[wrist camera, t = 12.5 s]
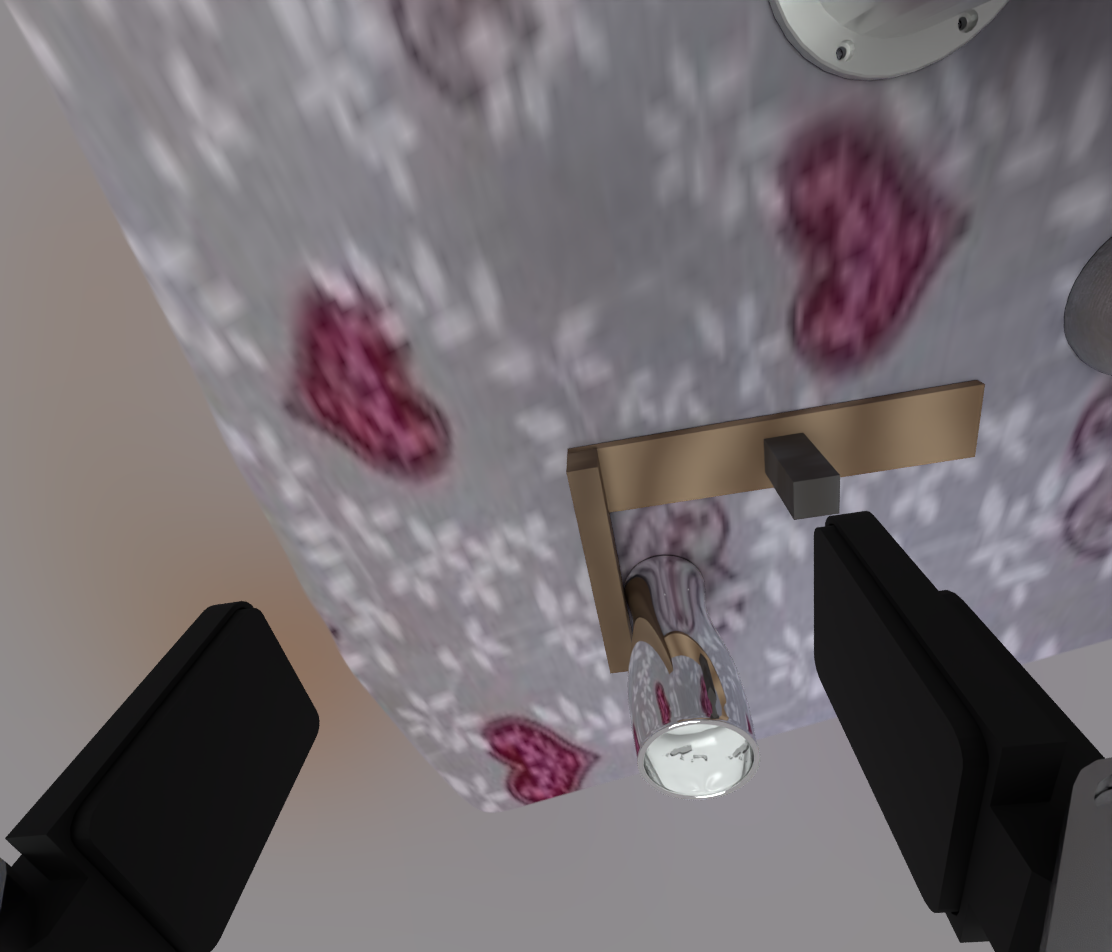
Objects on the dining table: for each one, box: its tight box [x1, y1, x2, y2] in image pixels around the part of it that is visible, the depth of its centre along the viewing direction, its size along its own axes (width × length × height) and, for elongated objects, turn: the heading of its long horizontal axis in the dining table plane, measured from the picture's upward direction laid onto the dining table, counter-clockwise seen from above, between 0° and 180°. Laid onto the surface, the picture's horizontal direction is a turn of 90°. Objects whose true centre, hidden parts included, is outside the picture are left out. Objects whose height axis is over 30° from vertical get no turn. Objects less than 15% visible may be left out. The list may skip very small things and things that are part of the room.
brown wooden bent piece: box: [566, 380, 985, 673], centre depth 38 cm, size 26×18×7 cm
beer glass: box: [624, 555, 760, 800], centre depth 38 cm, size 7×7×15 cm
